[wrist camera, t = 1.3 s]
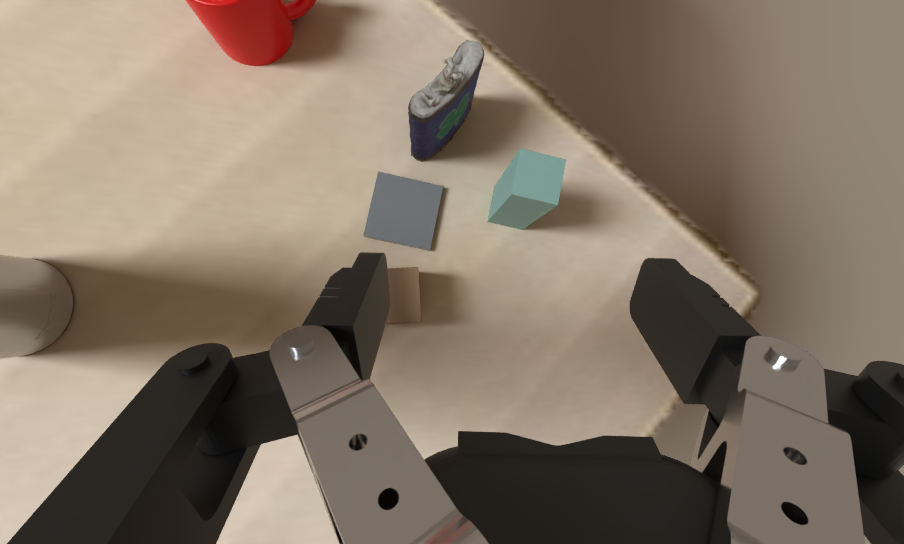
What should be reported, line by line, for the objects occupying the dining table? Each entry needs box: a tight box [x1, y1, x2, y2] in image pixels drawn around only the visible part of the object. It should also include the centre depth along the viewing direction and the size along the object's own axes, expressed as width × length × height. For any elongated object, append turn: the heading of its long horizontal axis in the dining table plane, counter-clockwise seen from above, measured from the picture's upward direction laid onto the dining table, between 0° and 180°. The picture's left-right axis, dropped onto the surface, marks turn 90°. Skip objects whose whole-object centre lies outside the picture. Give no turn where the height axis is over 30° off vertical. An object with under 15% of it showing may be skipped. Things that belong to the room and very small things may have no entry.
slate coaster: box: [364, 172, 443, 251], centre depth 39 cm, size 7×7×1 cm
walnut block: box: [386, 267, 421, 324], centre depth 36 cm, size 5×5×5 cm
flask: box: [408, 40, 484, 162], centre depth 35 cm, size 9×3×11 cm, turn 141°
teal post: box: [488, 148, 566, 230], centre depth 35 cm, size 4×4×10 cm
